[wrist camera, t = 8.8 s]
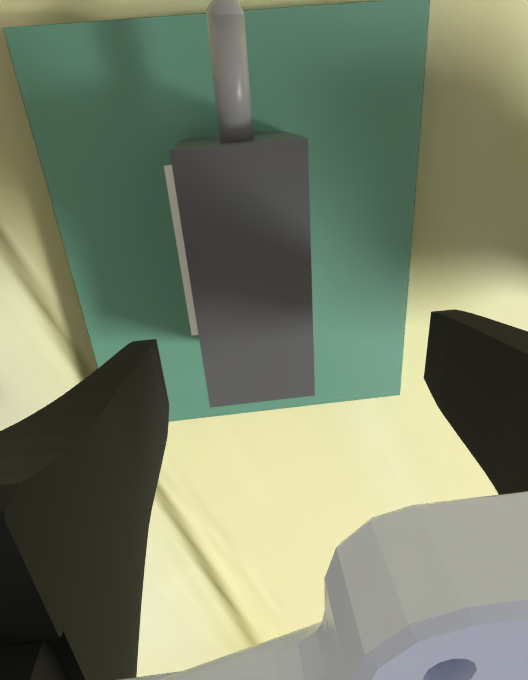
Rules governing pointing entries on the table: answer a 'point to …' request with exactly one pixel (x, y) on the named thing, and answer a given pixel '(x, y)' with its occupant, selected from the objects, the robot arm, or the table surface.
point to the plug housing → (246, 237)
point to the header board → (201, 122)
